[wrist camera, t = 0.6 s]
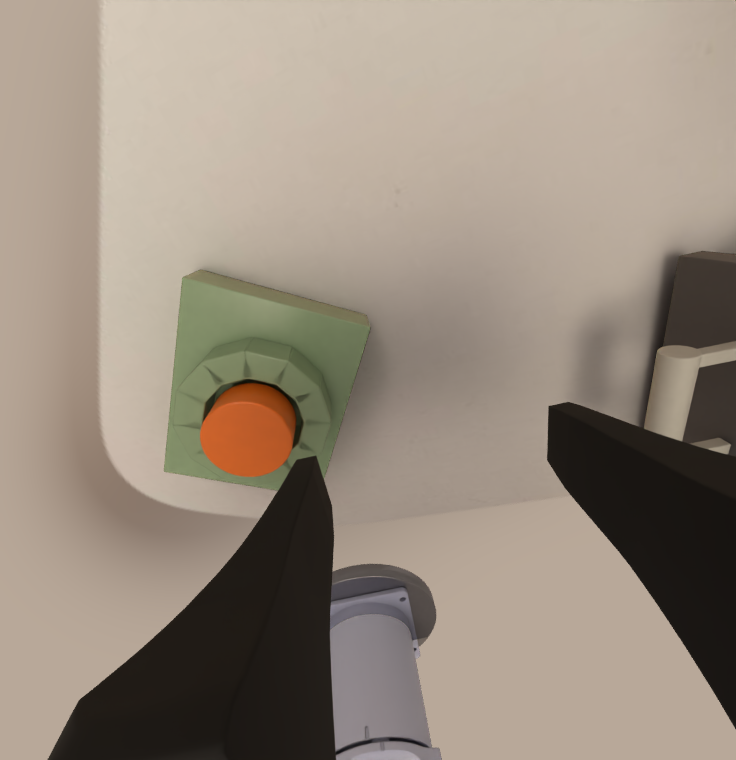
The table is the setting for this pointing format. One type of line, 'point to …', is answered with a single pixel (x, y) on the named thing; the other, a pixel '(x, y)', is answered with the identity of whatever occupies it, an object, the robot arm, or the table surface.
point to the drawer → (698, 356)
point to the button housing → (260, 367)
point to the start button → (249, 430)
